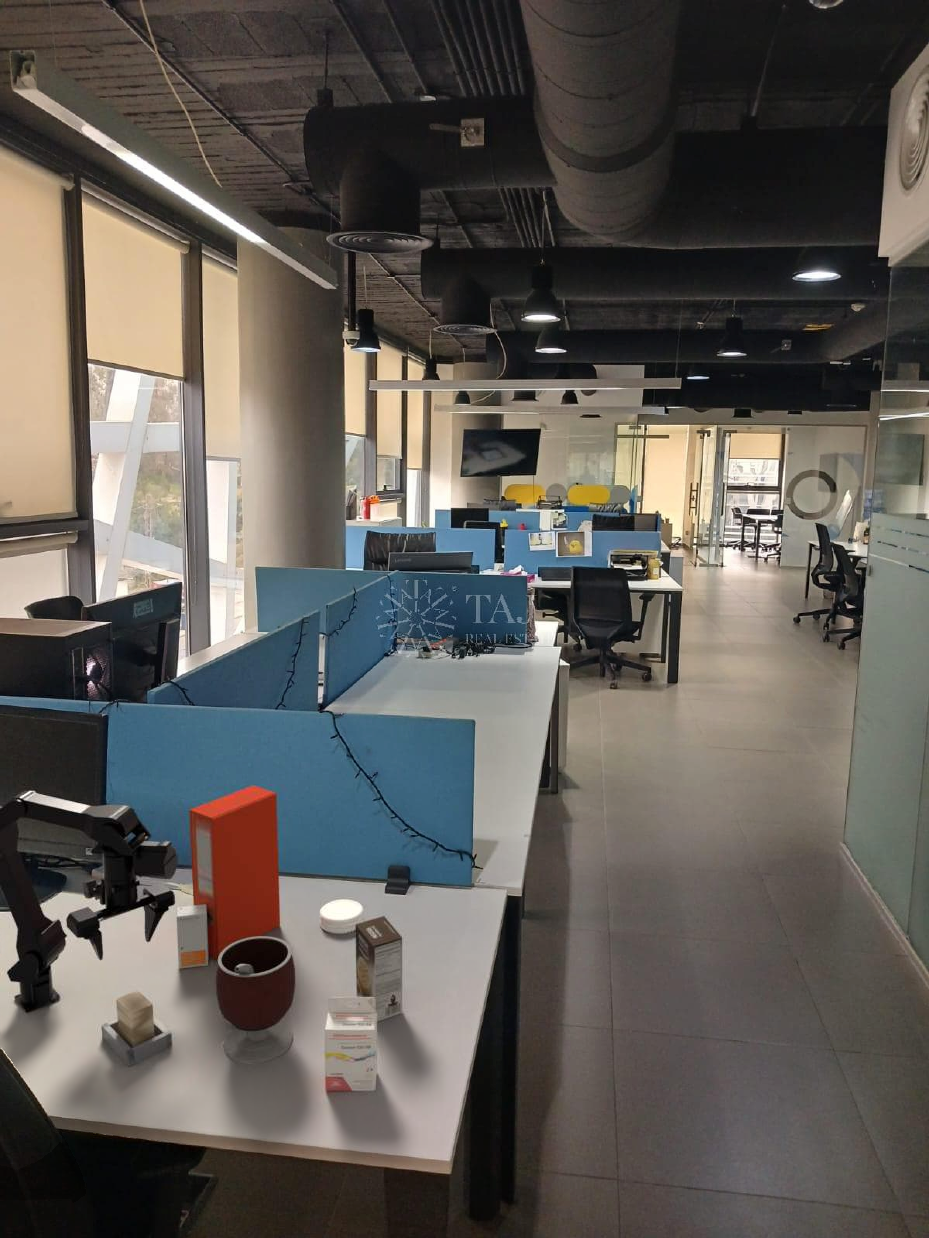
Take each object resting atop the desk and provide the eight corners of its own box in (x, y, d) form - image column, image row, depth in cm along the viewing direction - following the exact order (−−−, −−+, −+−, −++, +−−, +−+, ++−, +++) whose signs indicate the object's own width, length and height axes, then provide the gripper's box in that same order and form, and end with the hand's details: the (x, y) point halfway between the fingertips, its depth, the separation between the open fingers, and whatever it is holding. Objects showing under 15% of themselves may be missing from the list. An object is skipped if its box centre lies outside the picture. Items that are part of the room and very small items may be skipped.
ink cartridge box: (324, 1092, 146) (322, 1013, 144) (328, 1072, 151) (326, 995, 148) (376, 1091, 147) (375, 1012, 144) (378, 1071, 151) (377, 994, 149)
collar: (102, 1037, 160) (101, 1025, 159) (144, 1018, 165) (143, 1006, 165) (129, 1066, 152) (128, 1053, 152) (172, 1044, 158) (171, 1032, 157)
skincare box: (178, 970, 181) (175, 916, 179) (179, 958, 185) (176, 906, 183) (209, 965, 183) (206, 912, 181) (209, 954, 187) (206, 903, 185)
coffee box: (355, 997, 172) (353, 922, 169) (384, 988, 175) (383, 914, 172) (373, 1023, 164) (372, 945, 161) (404, 1013, 167) (403, 936, 164)
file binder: (281, 926, 198) (276, 792, 193) (220, 960, 185) (213, 818, 179) (256, 915, 203) (251, 784, 197) (195, 948, 189) (188, 809, 183)
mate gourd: (235, 1014, 167) (231, 917, 163) (306, 1019, 165) (303, 922, 162) (202, 1069, 152) (197, 964, 148) (280, 1076, 150) (276, 970, 146)
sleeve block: (133, 1054, 155) (130, 1013, 154) (119, 1038, 160) (116, 999, 158) (155, 1043, 158) (152, 1003, 157) (140, 1028, 162) (137, 989, 161)
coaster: (348, 938, 194) (347, 924, 193) (311, 928, 198) (310, 914, 197) (372, 918, 203) (371, 904, 202) (336, 908, 207) (335, 894, 206)
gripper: (149, 845, 176) (152, 917, 179) (52, 874, 164) (58, 951, 166) (174, 864, 169) (178, 938, 171) (75, 896, 156) (81, 976, 159)
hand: (124, 949), depth 167 cm, fingers open, 9 cm apart
